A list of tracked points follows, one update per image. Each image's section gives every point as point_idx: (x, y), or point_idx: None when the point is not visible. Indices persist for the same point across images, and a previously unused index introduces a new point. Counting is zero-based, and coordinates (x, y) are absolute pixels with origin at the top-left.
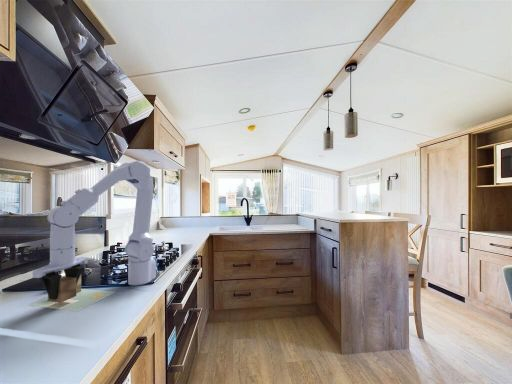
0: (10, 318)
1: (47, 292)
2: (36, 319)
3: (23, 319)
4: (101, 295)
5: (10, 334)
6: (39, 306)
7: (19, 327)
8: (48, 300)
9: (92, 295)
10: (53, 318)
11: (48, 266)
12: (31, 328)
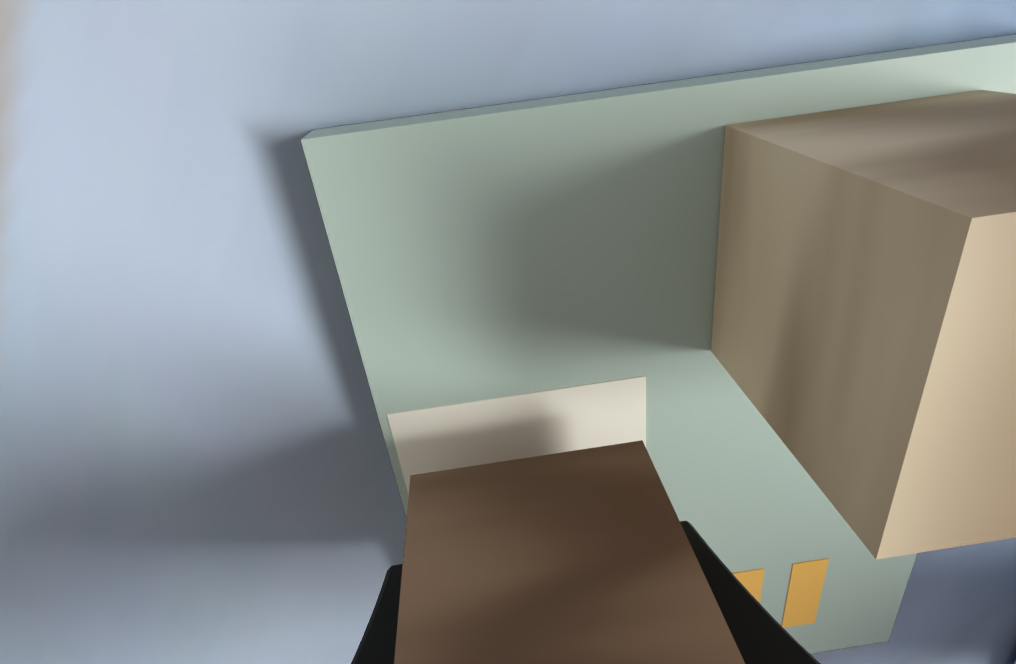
0: (68, 245)
1: (355, 656)
2: (247, 512)
3: (166, 410)
4: (792, 615)
5: (12, 596)
6: (364, 345)
7: (93, 541)
8: (410, 493)
9: (785, 551)
10: (338, 601)
11: None
12: (158, 623)
